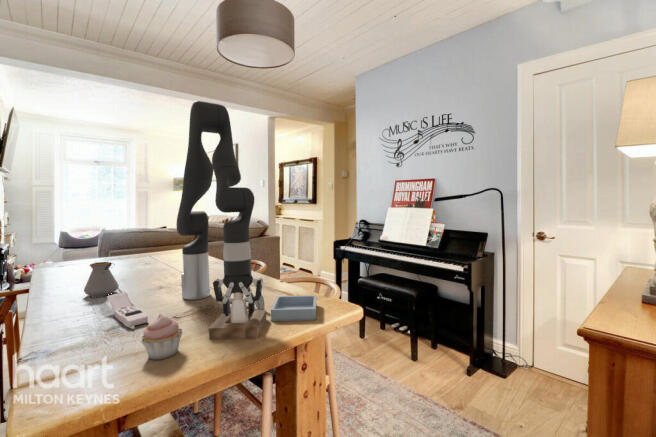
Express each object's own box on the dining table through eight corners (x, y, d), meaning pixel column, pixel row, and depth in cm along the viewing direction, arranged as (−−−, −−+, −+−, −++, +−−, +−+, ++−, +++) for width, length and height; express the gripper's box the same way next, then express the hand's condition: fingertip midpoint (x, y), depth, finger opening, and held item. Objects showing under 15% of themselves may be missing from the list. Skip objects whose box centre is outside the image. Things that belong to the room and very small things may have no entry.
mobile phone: (126, 291, 111) (150, 306, 94) (127, 307, 112) (152, 325, 95) (105, 295, 107) (127, 312, 90) (107, 312, 107) (129, 332, 90)
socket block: (209, 339, 84) (208, 328, 84) (224, 320, 97) (224, 311, 97) (257, 338, 84) (257, 327, 84) (266, 319, 97) (266, 310, 97)
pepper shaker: (239, 334, 87) (237, 295, 86) (225, 330, 90) (224, 292, 89) (253, 327, 92) (252, 290, 91) (240, 323, 94) (239, 287, 94)
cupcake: (148, 347, 80) (146, 309, 79) (187, 343, 82) (185, 305, 82) (134, 366, 71) (132, 323, 70) (179, 360, 73) (177, 318, 72)
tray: (271, 321, 96) (270, 309, 96) (277, 306, 110) (277, 296, 109) (315, 320, 96) (315, 308, 96) (316, 305, 110) (316, 295, 110)
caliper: (264, 311, 105) (264, 293, 105) (262, 312, 104) (261, 294, 104) (226, 301, 117) (225, 284, 117) (223, 301, 116) (223, 285, 116)
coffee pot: (81, 295, 127) (78, 258, 126) (114, 288, 135) (112, 254, 134) (94, 306, 112) (92, 265, 112) (130, 298, 121) (128, 260, 120)
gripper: (207, 260, 86) (209, 320, 87) (259, 259, 86) (261, 319, 87) (216, 255, 93) (218, 311, 94) (264, 254, 93) (266, 309, 94)
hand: (239, 314), depth 90 cm, fingers open, 6 cm apart
